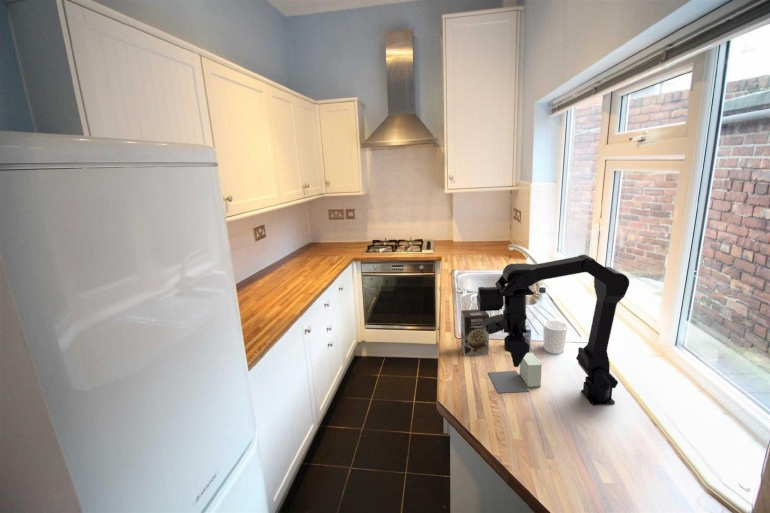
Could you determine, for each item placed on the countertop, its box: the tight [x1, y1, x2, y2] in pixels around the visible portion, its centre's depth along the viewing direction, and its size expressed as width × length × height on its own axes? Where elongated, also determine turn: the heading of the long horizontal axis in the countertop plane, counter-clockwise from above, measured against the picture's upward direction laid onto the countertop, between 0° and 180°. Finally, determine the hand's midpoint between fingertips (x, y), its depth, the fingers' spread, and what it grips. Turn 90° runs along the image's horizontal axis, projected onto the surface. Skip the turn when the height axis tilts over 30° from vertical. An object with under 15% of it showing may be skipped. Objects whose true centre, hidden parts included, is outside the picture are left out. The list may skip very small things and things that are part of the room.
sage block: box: [519, 352, 543, 389], centre depth 113 cm, size 4×7×8 cm, turn 0°
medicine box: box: [507, 324, 532, 352], centre depth 133 cm, size 8×4×9 cm, turn 76°
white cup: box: [542, 320, 568, 355], centre depth 129 cm, size 8×8×10 cm
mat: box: [488, 370, 530, 394], centre depth 114 cm, size 9×11×1 cm
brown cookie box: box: [460, 308, 490, 357], centre depth 131 cm, size 9×6×16 cm
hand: (515, 358), depth 103 cm, fingers open, 9 cm apart
